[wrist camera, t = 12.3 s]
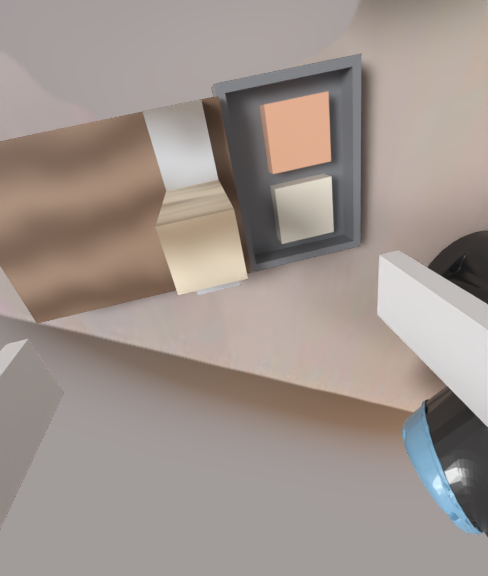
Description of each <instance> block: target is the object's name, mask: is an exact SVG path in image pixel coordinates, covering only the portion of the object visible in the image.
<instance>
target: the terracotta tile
mask: <svg viewBox="0 0 488 576" xmlns="http://www.w3.org/2000/svg"><path fill="white" fill-rule="evenodd" d="M260 113H261V120H262V128H263V135H264V143H265V150H266V157H267V165H268V171H269V172H270V173H272V174H276V173H281V172H285V171H290V170H294V169H299V168H303V167H308V166H312V165H317V164H321V163H326V162H330V161H331V145H330V118H329V92H328V91H327V92H322V93H317V94H312V95H308V96H303V97H298V98H293V99H289V100H284V101H279V102H274V103H269V104H265V105H260Z"/></svg>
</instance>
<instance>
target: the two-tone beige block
mask: <svg viewBox="0 0 488 576" xmlns="http://www.w3.org/2000/svg"><path fill="white" fill-rule="evenodd" d="M143 115H144V118H145V122H146V125H147V128H148V132H149V135H150V138H151V142H152V145H153V148H154V152H155V155H156V158H157V162H158V165H159V168H160V172H161V175H162V178H163V182H164V185H165V188H166V194H165V197H164V200H163V203H162V207H161V210H160V213H159V216H158V220H157V223H156V226H155V228H156V231H157V234H158V237H159V240H160V243H161V245H162V248H163V251H164V254H165V257H166V260H167V263H168V266H169V269H170V272H171V275H172V278H173V281H174V284H175V287H176V290H177V293H178V295H181V294H185V293H189V292H193V291H196V292H197V295H200V294H204V293H209V292H213V291H217V290H221V289H225V288H229V287H234V286H238V285H241V283H240V280H244V279H248V277H247V272H246V267H245V262H244V257H243V252H242V246H241V241H240V236H239V231H238V226H237V221H236V216H235V211H234V208H233V206H232V204H231V202H230V201H229V199H228V197H227V195H226V193H225V191H224V189H223V187H222V186H221V184H220V182H219V180H218V176H217V171H216V166H215V161H214V157H213V152H212V147H211V143H210V138H209V133H208V129H207V124H206V119H205V115H204V110H203V105H202V101H201V100H195V101H190V102H185V103H181V104H176V105H171V106H166V107H161V108H157V109H151V110H146V111H143Z"/></svg>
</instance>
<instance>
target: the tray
mask: <svg viewBox="0 0 488 576" xmlns="http://www.w3.org/2000/svg"><path fill="white" fill-rule="evenodd" d="M327 91H328V92H329V118H330V145H331V161H330V162H326V163H321V164H317V165H312V166H308V167H303V168H299V169H294V170H290V171H285V172H281V173H276V174H272V173H270V172H269V171H268V165H267V157H266V150H265V143H264V135H263V128H262V120H261V113H260V105H265V104H269V103H274V102H279V101H284V100H289V99H293V98H298V97H303V96H308V95H312V94H317V93H322V92H327ZM212 93H213V97H216V96H219V101H220V106H221V112H222V117H223V122H224V127H225V133H226V138H227V143H228V148H229V154H230V159H231V164H232V169H233V175H234V180H235V185H236V190H237V196H238V201H239V206H240V211H241V217H242V222H243V227H244V232H245V238H246V243H247V248H248V253H249V259H250V264H251V269H252V272H254V271H258V270H262V269H266V268H270V267H275V266H279V265H283V264H287V263H291V262H295V261H300V260H304V259H308V258H312V257H316V256H321V255H325V254H329V253H333V252H337V251H341V250H346V249H350V248H354V247H358V246H360V219H361V54H356V55H351V56H347V57H342V58H337V59H332V60H327V61H322V62H317V63H313V64H308V65H303V66H298V67H293V68H288V69H283V70H279V71H274V72H269V73H264V74H259V75H254V76H250V77H244V78H240V79H235V80H230V81H225V82H220V83H216V84H213V86H212ZM320 174H326V175H329V176H332V200H333V226H334V232H331V233H327V234H323V235H318V236H314V237H310V238H305V239H301V240H297V241H293V242H288V243H284V244H281V242H280V241H279V240H278V238H277V232H276V225H275V218H274V210H273V203H272V195H271V188H270V186H271V185H276V184H280V183H284V182H289V181H293V180H298V179H302V178H307V177H311V176H316V175H320Z"/></svg>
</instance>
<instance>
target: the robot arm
mask: <svg viewBox="0 0 488 576" xmlns="http://www.w3.org/2000/svg"><path fill="white" fill-rule="evenodd" d="M377 315H378V316H379V317H380V318H381V319H382V320H383V321H384V322H385V323H386V324H387V325H388V326H389V327H390V328H391V329H392V330H393V331H394V332H395V333H396V334H397V335H398V336H399V337H400V338H401V339H402V340H403V341H404V342H405V343H406V344H407V345H408V346H409V347H410V348H411V350H412V351H413V352H414V353H415V354H416V355H417V356H418V357H419V358H420V359H421V360H422V361H423V362H424V363H425V364H426V365H427V366H428V367H429V368H430V369H431V370H432V371H433V372H434V373H435V374H436V375H437V376H438V377H439V378H440V379H441V380H442V381H443V382H444V383H445V384H446V385H447V386H446V387H445V388H443V389H442V390H441V391H440V392H438V393H437V394H436V395H435V396H433V397H432V398H431V399H429V400H425V401H424V402H423V403H422V406H421V407H420V408H419V409H418V410H416V411H415V412H414V413H413V414H412V415H411V416H410V417H409V418H407V419H406V421H405V422H404V425H403V428H402V436H403V440H404V444H405V448H406V451H407V453H408V455H409V458H410V460H411V462H412V464H413V466H414V468H415V470H416V472H417V474H418V475H419V477H420V479H421V480H422V482H423V484H424V485H425V487H426V488H427V490H428V491H429V493H430V494H431V496H432V497H433V499H434V500H435V501H436V503H437V504H438V505H439V507H440V508H441V509H442V510H443V511H444V512H446V513H447V514H448V516H449V517H450V519H451V520H452V521H453V522H454V524H456V525H457V526H458V527H459V528H460V529H461V530H463V531H465V532H467V533H469V534H478V535H479V534H481V533H482V532H484V533H485V534H486V535H487V536H488V231H481V232H476V233H473V234H470V235H467V236H465V237H463V238H461V239H459V240H457V241H456V242H454V243H452V244H451V245H450V246H448V247H447V248H446V249H444V250H443V251H442V252H441V253H440V254H439V255H438V256H437V257H436V258H435V259H434V260H433V262H432V263H431V264H430V265H429V267H428V268H427V267H425V266H424V265H422V264H421V263H419V262H417V261H416V260H414V259H412V258H411V257H409V256H407V255H406V254H404V253H402V252H401V251H399V250H398V251H393V252H389V253H385V254H381V255H379V277H378V305H377ZM63 394H64V392H63V390H62V389H61V387H60V386H59V384H58V383H57V381H56V380H55V378H54V377H53V375H52V374H51V372H50V371H49V370H48V368H47V366H46V365H45V363H44V362H43V361H42V359H41V358H40V356H39V355H38V353H37V352H36V350H35V349H34V347H33V346H32V344H31V343H30V341H29V340H28V339H26V340H22V341H18V342H14V343H9V344H6V345H5V346H4V348H3V349H2V350H1V351H0V529H1V527H2V525H3V523H4V521H5V518H6V516H7V514H8V512H9V510H10V508H11V505H12V503H13V501H14V499H15V497H16V495H17V493H18V490H19V488H20V486H21V484H22V482H23V479H24V478H25V475H26V473H27V471H28V469H29V467H30V465H31V462H32V460H33V458H34V456H35V454H36V452H37V449H38V447H39V445H40V443H41V441H42V439H43V437H44V435H45V432H46V430H47V428H48V426H49V424H50V422H51V419H52V417H53V415H54V413H55V411H56V409H57V407H58V405H59V402H60V400H61V398H62V396H63Z"/></svg>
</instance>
